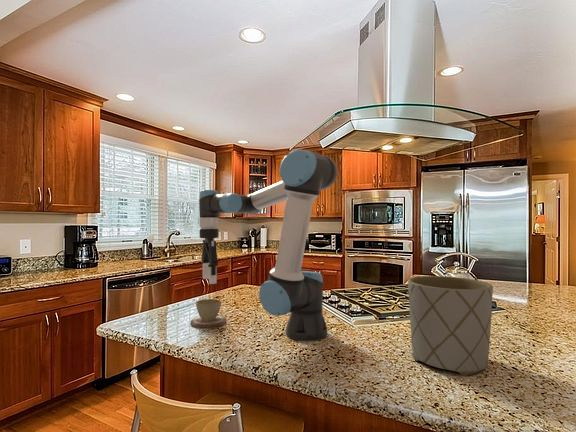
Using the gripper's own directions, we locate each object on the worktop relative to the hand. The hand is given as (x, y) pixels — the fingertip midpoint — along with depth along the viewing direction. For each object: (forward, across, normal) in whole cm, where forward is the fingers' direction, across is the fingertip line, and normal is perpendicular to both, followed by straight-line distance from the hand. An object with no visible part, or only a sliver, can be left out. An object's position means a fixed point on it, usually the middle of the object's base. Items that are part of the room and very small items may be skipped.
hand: (209, 281), depth 139 cm
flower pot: (+16, 0, 0) cm, 16 cm away
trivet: (+17, +1, 0) cm, 17 cm away
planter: (+19, -65, -58) cm, 89 cm away
